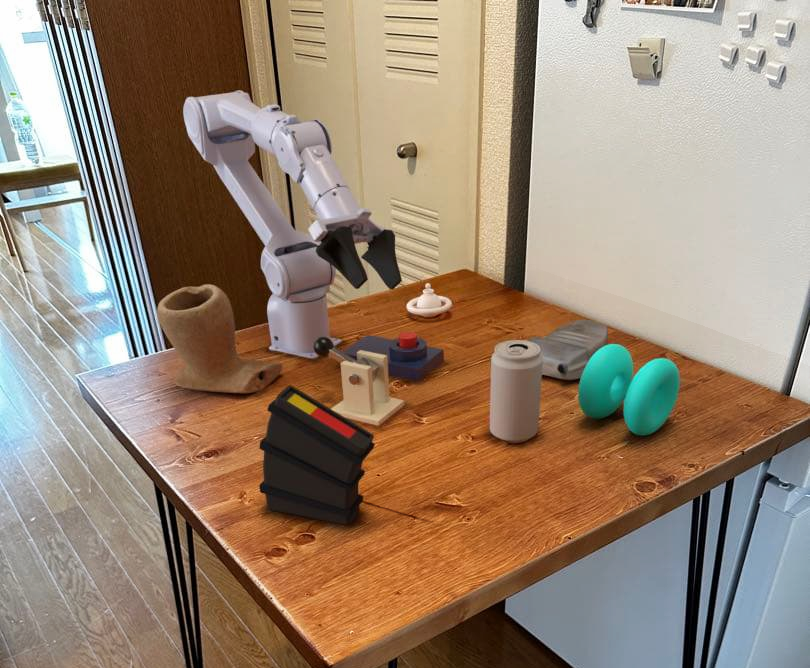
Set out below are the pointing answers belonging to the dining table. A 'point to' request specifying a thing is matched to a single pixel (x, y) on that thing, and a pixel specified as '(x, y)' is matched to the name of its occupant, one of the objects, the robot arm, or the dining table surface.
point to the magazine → (312, 459)
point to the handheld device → (570, 348)
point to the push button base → (401, 356)
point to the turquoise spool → (629, 389)
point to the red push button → (407, 340)
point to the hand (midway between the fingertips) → (379, 284)
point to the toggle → (340, 354)
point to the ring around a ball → (429, 304)
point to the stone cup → (210, 343)
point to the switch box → (367, 391)
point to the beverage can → (515, 390)
